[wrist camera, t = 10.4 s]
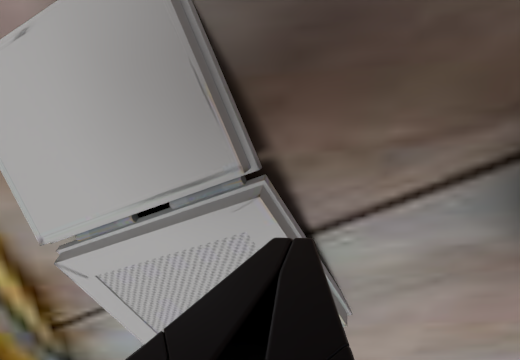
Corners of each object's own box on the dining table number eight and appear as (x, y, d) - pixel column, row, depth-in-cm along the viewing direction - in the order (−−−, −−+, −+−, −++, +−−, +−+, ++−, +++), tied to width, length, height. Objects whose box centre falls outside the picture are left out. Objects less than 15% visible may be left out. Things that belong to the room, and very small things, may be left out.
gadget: (-34, 68, 26) (-91, 86, 23) (164, -65, 20) (123, -66, 17) (166, 342, 34) (144, 383, 30) (353, 306, 27) (349, 353, 24)
